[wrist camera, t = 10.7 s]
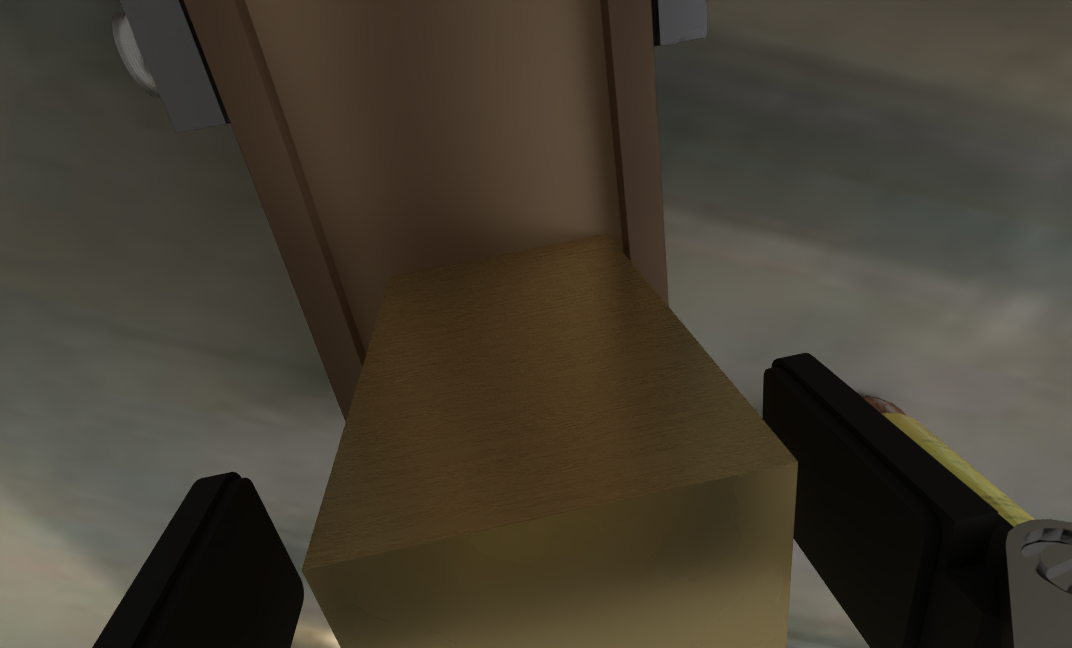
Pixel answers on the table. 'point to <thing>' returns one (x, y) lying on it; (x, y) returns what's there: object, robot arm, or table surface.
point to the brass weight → (550, 471)
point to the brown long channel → (436, 139)
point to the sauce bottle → (951, 461)
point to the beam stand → (188, 85)
